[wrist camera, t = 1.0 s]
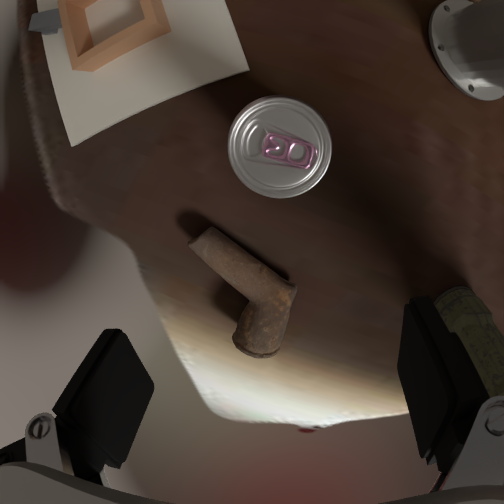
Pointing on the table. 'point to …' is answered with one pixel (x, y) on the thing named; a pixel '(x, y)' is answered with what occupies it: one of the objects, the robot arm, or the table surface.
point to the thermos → (475, 334)
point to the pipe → (250, 293)
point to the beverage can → (279, 146)
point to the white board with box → (132, 55)
